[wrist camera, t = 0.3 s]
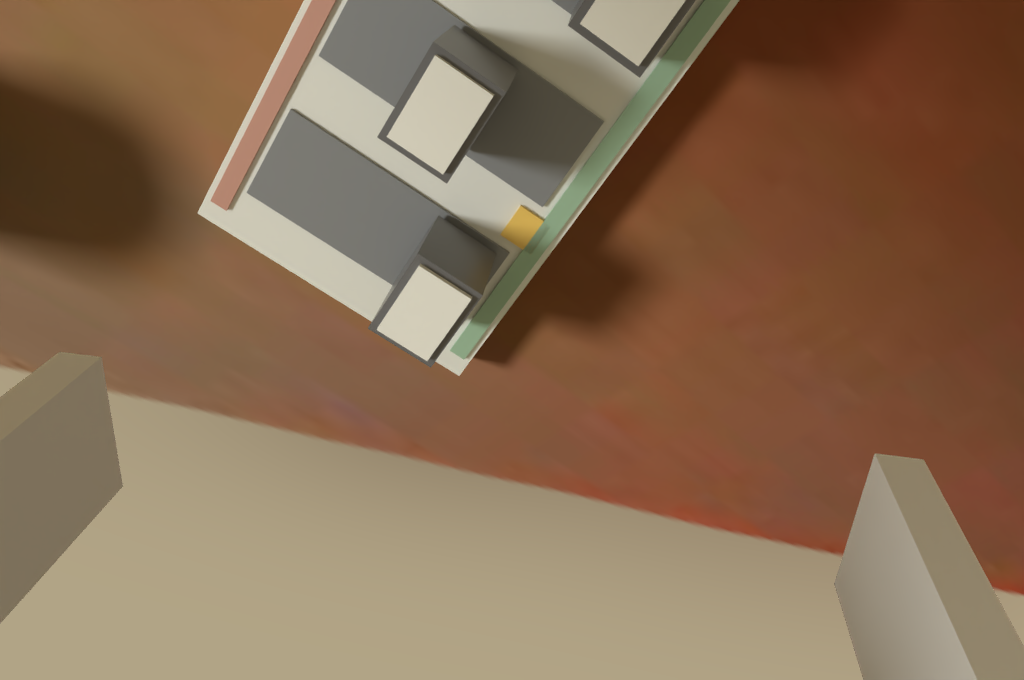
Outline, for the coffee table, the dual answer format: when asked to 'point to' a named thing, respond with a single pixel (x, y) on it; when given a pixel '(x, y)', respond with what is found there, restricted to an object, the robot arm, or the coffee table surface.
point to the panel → (407, 186)
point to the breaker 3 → (629, 27)
